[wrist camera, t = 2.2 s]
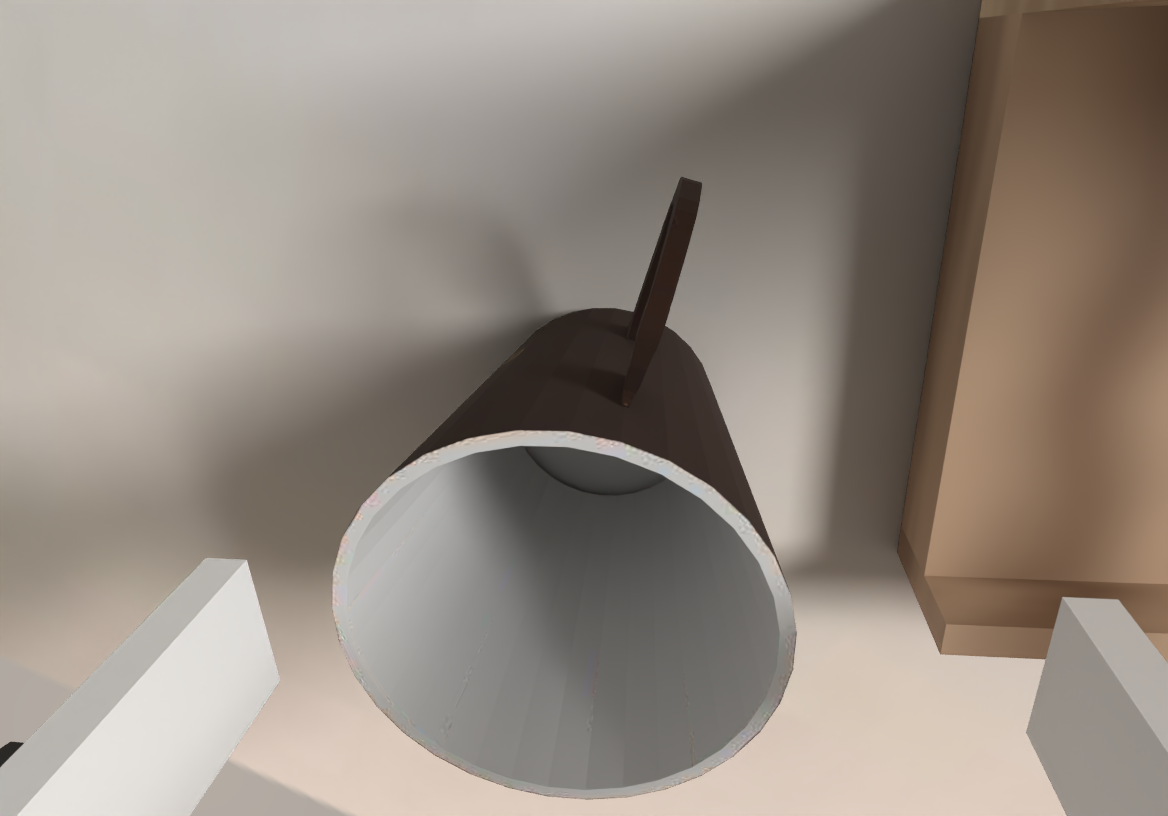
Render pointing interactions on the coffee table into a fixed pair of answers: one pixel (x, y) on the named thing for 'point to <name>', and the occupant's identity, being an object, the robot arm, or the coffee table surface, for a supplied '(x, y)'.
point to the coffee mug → (575, 565)
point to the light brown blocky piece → (1049, 336)
